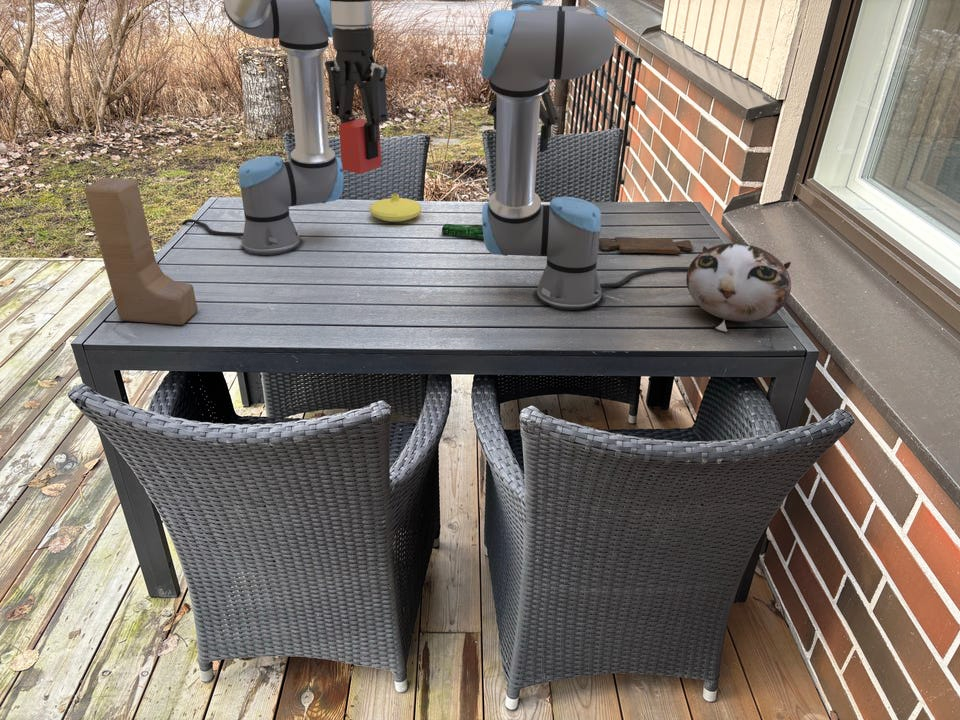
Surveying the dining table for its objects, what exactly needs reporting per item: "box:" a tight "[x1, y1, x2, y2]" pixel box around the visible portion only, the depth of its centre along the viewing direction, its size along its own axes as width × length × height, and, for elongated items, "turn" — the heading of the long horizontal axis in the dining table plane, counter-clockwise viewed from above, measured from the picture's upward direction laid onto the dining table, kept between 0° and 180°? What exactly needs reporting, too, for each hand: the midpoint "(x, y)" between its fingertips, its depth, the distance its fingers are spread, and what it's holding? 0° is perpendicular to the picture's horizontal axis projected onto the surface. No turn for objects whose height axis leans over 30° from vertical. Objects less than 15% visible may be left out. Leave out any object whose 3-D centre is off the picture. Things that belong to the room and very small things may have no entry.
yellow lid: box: [369, 193, 422, 223], centre depth 215 cm, size 16×16×7 cm
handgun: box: [441, 223, 484, 242], centre depth 207 cm, size 16×3×15 cm
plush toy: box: [685, 242, 792, 332], centre depth 158 cm, size 22×18×20 cm
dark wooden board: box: [599, 236, 693, 255], centre depth 198 cm, size 26×2×10 cm
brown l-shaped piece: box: [83, 177, 198, 326], centre depth 152 cm, size 8×15×30 cm, turn 82°
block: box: [338, 118, 383, 174], centre depth 141 cm, size 5×6×9 cm
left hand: (361, 155), depth 142 cm, fingers closed on block, 5 cm apart
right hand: (521, 147), depth 190 cm, fingers open, 13 cm apart
